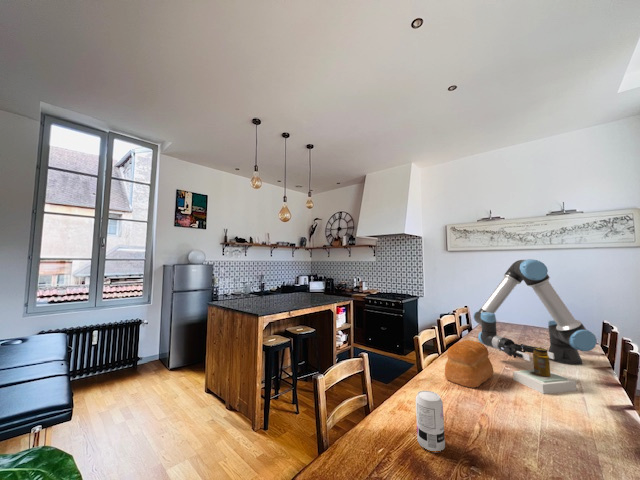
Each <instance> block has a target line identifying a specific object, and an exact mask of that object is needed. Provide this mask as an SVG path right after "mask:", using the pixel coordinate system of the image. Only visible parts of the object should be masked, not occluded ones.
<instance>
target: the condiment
mask: <svg viewBox="0 0 640 480" xmlns="http://www.w3.org/2000/svg"><path fill="white" fill-rule="evenodd" d="M533 350H534V351H533V352H534V353H532V360H533V362H532V365H533V370H534V371H533V372H531V373H528V374H530V375H533V376H536V377H540V378H543V379H549V378H551V377H553V376H554V375H551V374H550V372H551V366H550V359H549V356H548V353H547V351H548V350H547V349H546V348H543V347H541V348H540V347H538V348H533Z"/></svg>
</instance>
